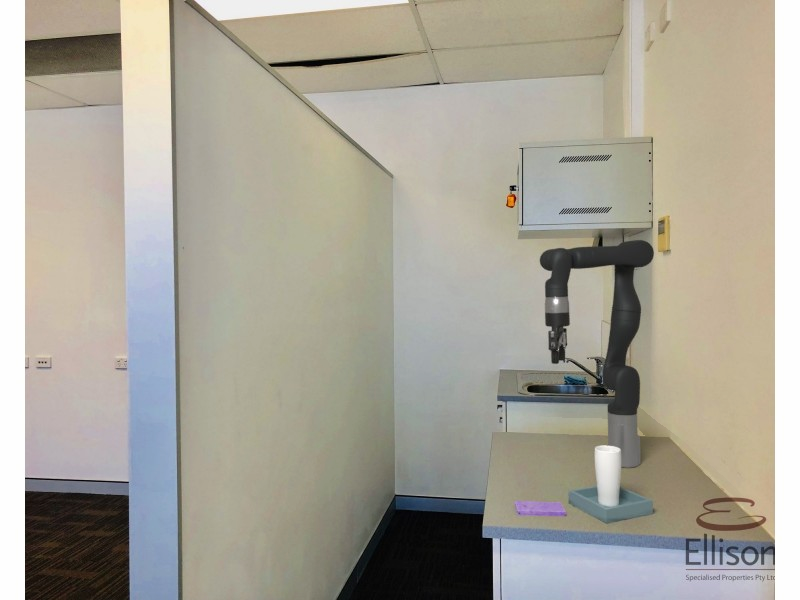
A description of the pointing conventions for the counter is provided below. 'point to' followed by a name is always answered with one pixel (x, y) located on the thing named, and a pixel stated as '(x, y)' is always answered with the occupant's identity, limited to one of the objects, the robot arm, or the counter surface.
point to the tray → (627, 508)
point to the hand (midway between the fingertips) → (558, 362)
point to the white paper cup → (608, 474)
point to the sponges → (540, 508)
